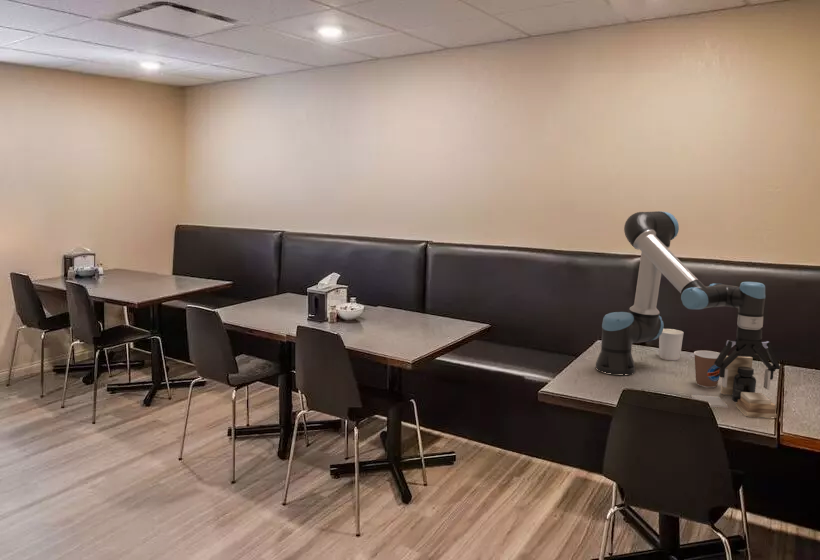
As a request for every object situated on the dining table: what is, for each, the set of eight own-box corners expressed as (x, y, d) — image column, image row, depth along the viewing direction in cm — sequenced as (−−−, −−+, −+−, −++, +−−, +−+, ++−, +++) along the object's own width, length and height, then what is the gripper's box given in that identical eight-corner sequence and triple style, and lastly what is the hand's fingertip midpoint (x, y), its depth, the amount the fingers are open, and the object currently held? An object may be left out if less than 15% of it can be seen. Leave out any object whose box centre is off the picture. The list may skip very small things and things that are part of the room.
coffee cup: (708, 390, 213) (711, 359, 211) (685, 382, 222) (687, 352, 220) (728, 387, 217) (730, 356, 215) (704, 379, 226) (706, 349, 224)
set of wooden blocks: (746, 416, 188) (750, 375, 186) (720, 392, 210) (723, 355, 208) (776, 418, 186) (780, 376, 184) (747, 394, 209) (750, 356, 207)
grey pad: (699, 406, 197) (699, 403, 197) (691, 397, 206) (691, 394, 206) (727, 407, 196) (727, 405, 195) (718, 398, 204) (718, 396, 204)
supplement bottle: (758, 405, 198) (761, 371, 196) (738, 404, 198) (741, 371, 197) (747, 398, 205) (750, 365, 203) (727, 397, 205) (730, 365, 203)
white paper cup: (685, 361, 250) (687, 334, 248) (662, 361, 250) (664, 334, 249) (675, 354, 260) (677, 328, 258) (653, 354, 260) (655, 328, 258)
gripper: (714, 328, 196) (710, 389, 199) (794, 331, 192) (789, 392, 195) (706, 324, 203) (703, 382, 206) (784, 326, 199) (779, 385, 202)
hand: (745, 387), depth 201 cm, fingers open, 13 cm apart
